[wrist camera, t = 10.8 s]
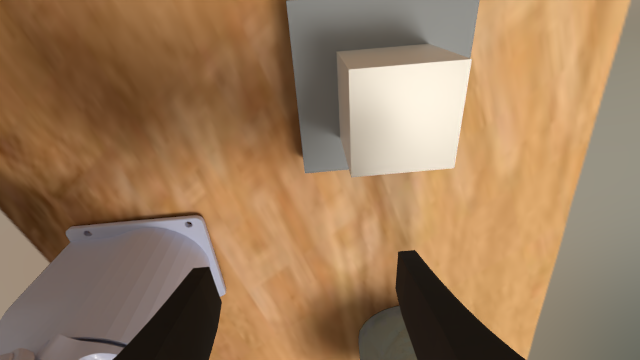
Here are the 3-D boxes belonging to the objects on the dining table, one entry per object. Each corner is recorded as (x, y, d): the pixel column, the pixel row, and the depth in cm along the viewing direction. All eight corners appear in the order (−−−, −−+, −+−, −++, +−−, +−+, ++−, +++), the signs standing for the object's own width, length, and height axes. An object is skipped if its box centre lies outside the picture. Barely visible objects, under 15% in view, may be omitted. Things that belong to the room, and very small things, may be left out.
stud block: (304, 158, 21) (305, 191, 17) (287, 0, 16) (284, 1, 13) (441, 146, 21) (469, 176, 17) (462, -14, 16) (506, -18, 13)
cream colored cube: (340, 138, 18) (351, 177, 14) (336, 51, 16) (348, 69, 12) (420, 131, 18) (454, 168, 14) (428, 43, 16) (471, 58, 12)
